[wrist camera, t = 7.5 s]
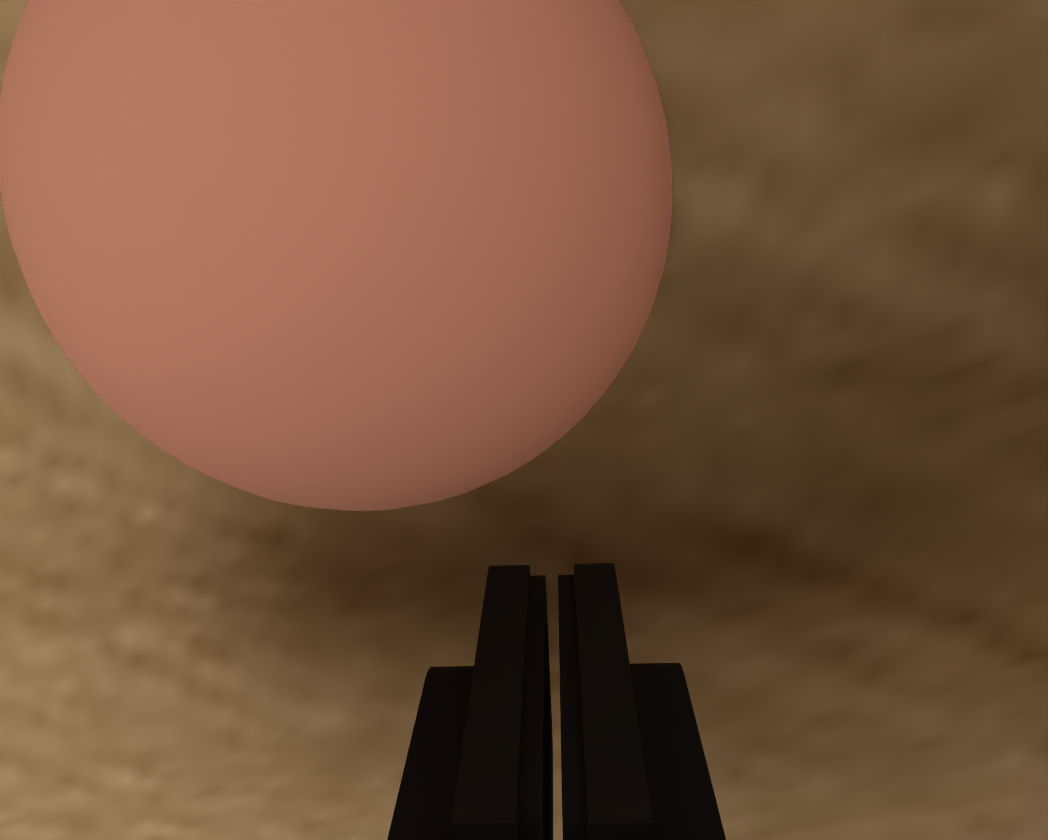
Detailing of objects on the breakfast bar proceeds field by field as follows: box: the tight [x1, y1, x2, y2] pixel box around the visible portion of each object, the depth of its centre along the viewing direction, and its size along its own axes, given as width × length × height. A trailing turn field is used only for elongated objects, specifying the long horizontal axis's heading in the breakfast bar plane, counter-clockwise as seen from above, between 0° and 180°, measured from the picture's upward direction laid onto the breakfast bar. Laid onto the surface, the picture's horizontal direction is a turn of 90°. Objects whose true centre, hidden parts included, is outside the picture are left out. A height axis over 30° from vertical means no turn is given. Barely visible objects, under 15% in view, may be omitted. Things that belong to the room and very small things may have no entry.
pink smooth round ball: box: [0, 0, 673, 511], centre depth 7 cm, size 6×6×6 cm
